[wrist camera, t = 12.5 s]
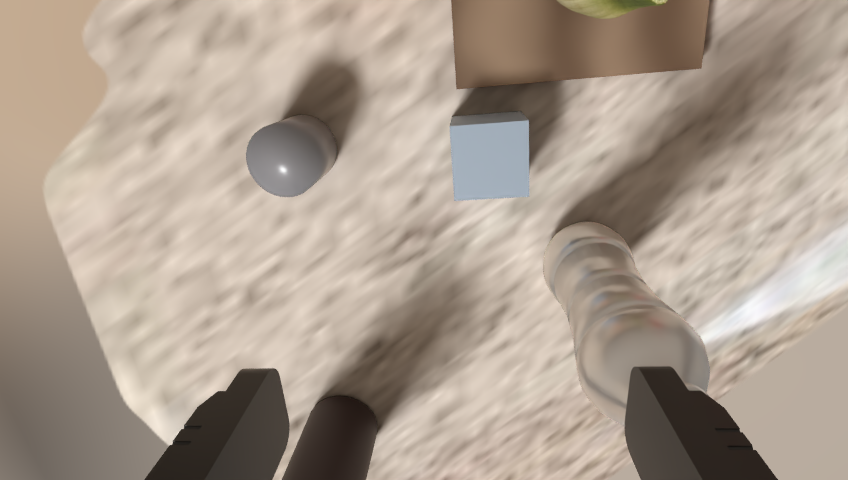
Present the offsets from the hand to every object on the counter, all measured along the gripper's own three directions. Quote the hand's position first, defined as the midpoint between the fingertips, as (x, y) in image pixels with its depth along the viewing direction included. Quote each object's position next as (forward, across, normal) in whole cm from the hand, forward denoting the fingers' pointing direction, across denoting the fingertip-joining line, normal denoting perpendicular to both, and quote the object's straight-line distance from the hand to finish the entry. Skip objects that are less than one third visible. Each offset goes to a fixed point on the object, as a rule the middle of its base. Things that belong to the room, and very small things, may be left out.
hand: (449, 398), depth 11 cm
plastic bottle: (+27, -10, +8) cm, 30 cm away
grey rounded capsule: (+27, +12, -1) cm, 30 cm away
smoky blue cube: (+27, -2, 0) cm, 27 cm away
